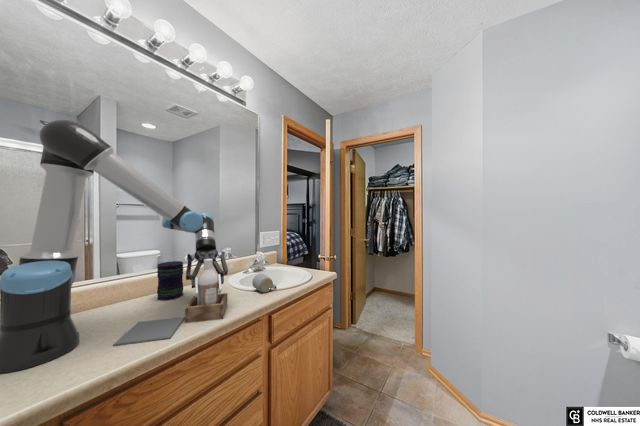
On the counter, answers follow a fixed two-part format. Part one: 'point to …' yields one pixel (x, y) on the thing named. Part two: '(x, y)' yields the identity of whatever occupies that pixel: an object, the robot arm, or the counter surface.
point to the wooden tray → (206, 310)
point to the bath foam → (207, 285)
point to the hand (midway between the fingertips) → (208, 293)
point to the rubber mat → (150, 331)
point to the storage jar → (170, 280)
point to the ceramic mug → (263, 283)
